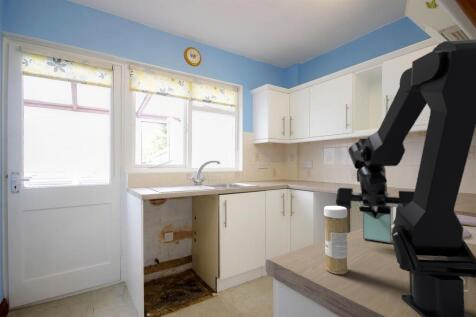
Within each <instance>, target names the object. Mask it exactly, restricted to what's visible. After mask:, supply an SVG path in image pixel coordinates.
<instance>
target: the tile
mask: <svg viewBox="0 0 476 317" xmlns="http://www.w3.org/2000/svg"><path fill="white" fill-rule="evenodd" d="M375 211H376V209H375ZM362 233H363V234H362V240H363V239H364V240H369V241H376V242H382V243H383V242H384V243H387V244H393V239H392V212H391V213H390V214H386V215H383V216H381V217H380V218H378V219H374V218H373V217H371V216H370V215H368V214H366V213H364V212H362Z"/></svg>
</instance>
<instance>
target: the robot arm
mask: <svg viewBox="0 0 476 317" xmlns="http://www.w3.org/2000/svg"><path fill="white" fill-rule="evenodd" d="M426 106H428V108H429V109H430V112H429V117H428V123H427V128H426V134H425V138H424V143H423V148H422V153H421V158H420V163H419V168H418V172H417V178H416V183H415V189H414V191H413V190H398V197H391V193H390V192H388V183H387V182H388V180H387V174H386V172H387V171H386V167H397V166H398V165H399V164H400V163H401V162H402V159H403V157H404V154H405V152H406V148H405V145H404V143H405V139H406V138H407V136H408V134H409V133H410V131H411V130H412V128H413V127H414V125H415V124H416V122H417V121H418V119H419V117H420V116H421V114H422V112H423V110H424V109H425V107H426ZM475 131H476V38H475V39H472V38H471V39H461V40H446V41H442V42H440V43H438V44H437V45H436V46H435V47H434V48H433V49H432V50H431V51H430V52H427V53H425V54H424V55H422V56H420V57H418V58H416V59H415V60H412V62H411V67H409V68H408V69H405V70H404V71H403V72H402V73H401V75H400V79H399V87H398V89H397V92H396V94H395V95H394V97H393V99H392V101H391V104H390V106H389V108H388V110H387V112H386V114H385V116H384V118H383V119H382V122H381V125H380V126H379V128H378V130H377V131H375V132H374V133H372V134H370V135H369V136H368V137H367V138H359V139H358V141H357V142H354V143H353V144H351V145H350V147H349V148H348V151H347V152H348V155H349V156H350V159H351V161H352V164H353V166H354V169H356V180H357V181H356V182H358V183H359V185H360V192H354V188H352V187H339V188H338V189H337V191H336V192H337V193H336V199H335V204H336V205H335V206H342V207H345V208H347V210H350V209H352V202H358V206H359V207H358V209H359V210H358V211H359V212H361V213H363V212H364V213H366V214H368V215H370V216H371V217H373V218H374V219H378V218H380V217H381V216H383V215H386V214H390V213H391V214H392V211H391V210H392V207H393V208H396V209H395V216H394V219H393V222H392V224H393V227H392V229H391V238H392V244H393V249H394V254H395V258H396V262H397V263H398V265H399V268H400V269H401V270H402V271H406V272H409V273H408V275H409V293H410V294H401V295H400V297H401V300H402V301H404V303H406V304H407V305H408V306H409V307H411V308H412V309H413V310H414V311H415V312H416V313H418V314H419V315H420V316H421V317H472V316H471V315H470V314H468V313H467V312H466V311H465V284H464V278H473V279H476V256H475V254H473V251H471V249H470V247H469V246H468V244H467V243H466V241H465V239H464V238H463V237H464V226H463V224H462V222H461V221H460V219H459V217H458V215H457V214H456V212H455V208H456V203H457V200H458V195H459V192H460V188H461V184H462V179H463V176H464V174H465V170H466V165H467V162H468V158H469V153H470V150H471V146H472V142H473V139H474V136H475V135H474V134H475ZM375 207H376V208H375ZM375 210H376V211H375ZM419 257H430V258H431V257H432V258H433V257H435V258H446V259H447V260H445V259H444V260H443V259H424V258H423V259H422V258H420V259H419Z"/></svg>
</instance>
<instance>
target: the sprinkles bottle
mask: <svg viewBox="0 0 476 317" xmlns="http://www.w3.org/2000/svg"><path fill="white" fill-rule="evenodd" d="M323 215H324V221H325V222H324V226H325V229H324V250H325V251H324V252H325V266H324V267H325V270H326V271H328V273H330V274H331V273H332V274H334V275H335V274H336V275H345V274H347V273H348V272H349V269H348V231H347V229H348V228H347V220H348V209H347V208H345V207H342V206H337V205H326V206H324V207H323Z"/></svg>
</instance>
